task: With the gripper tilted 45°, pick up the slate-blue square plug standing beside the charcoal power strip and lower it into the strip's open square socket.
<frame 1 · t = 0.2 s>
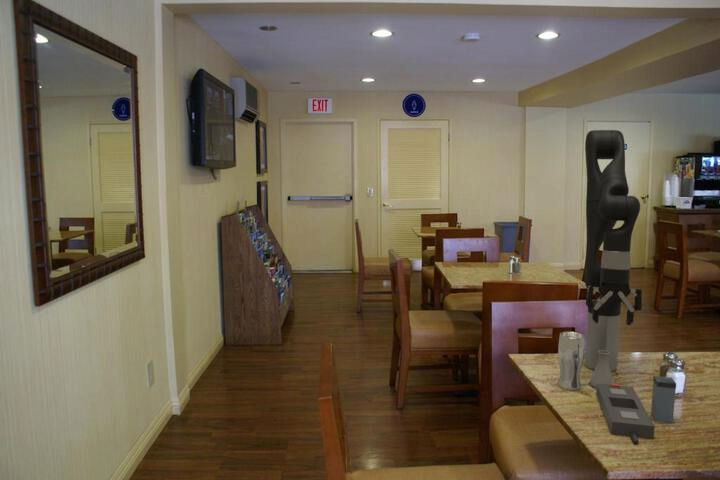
hand: (612, 323, 161), 18 cm above the table, tool pointing down, fingers open, 8 cm apart
power strip: (622, 414, 143), on the table
beer glass: (569, 386, 162), on the table
plug: (661, 418, 141), on the table
flask: (601, 386, 162), on the table
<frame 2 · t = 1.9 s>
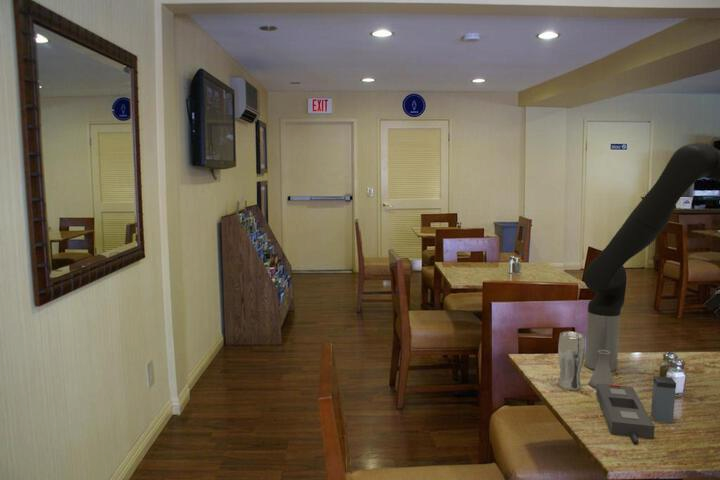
hand: (711, 311, 137), 27 cm above the table, tool tilted 45°, fingers open, 8 cm apart
nothing on the table moved.
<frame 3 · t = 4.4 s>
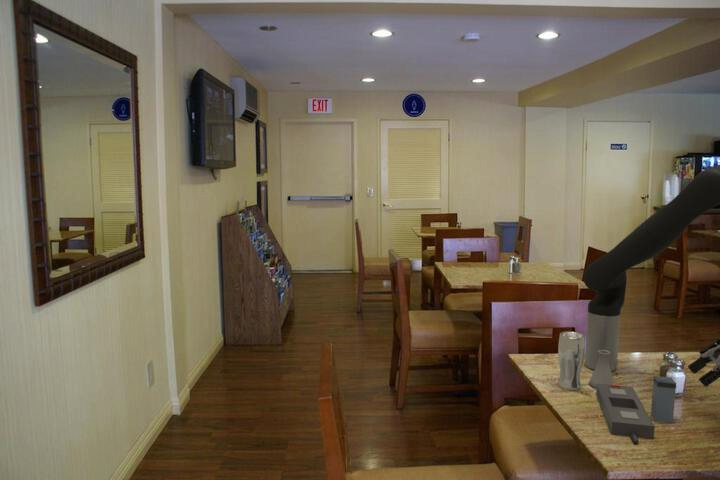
hand: (696, 376, 138), 11 cm above the table, tool tilted 45°, fingers open, 8 cm apart
nothing on the table moved.
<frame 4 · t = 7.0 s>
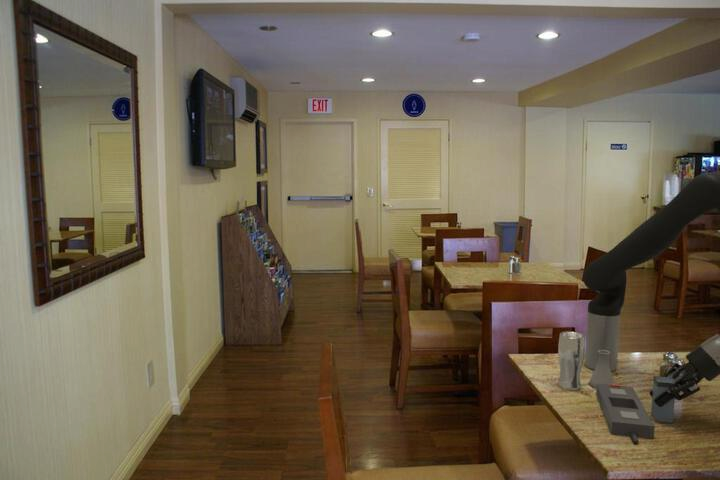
hand: (654, 400, 141), 5 cm above the table, tool tilted 45°, fingers closed on plug, 4 cm apart
plug: (661, 418, 141), on the table, touching gripper
everything else where it was.
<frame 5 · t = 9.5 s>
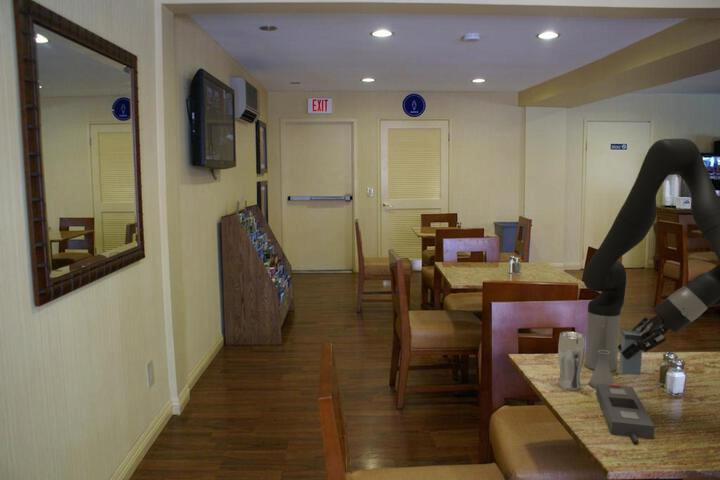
hand: (622, 353, 142), 16 cm above the table, tool tilted 45°, fingers closed on plug, 4 cm apart
plug: (629, 371, 142), point 11 cm above the table, touching gripper
everything else where it was.
when the fingers open (6 cm above the table, at t = 12.3 s): plug drops 2 cm, resting in power strip.
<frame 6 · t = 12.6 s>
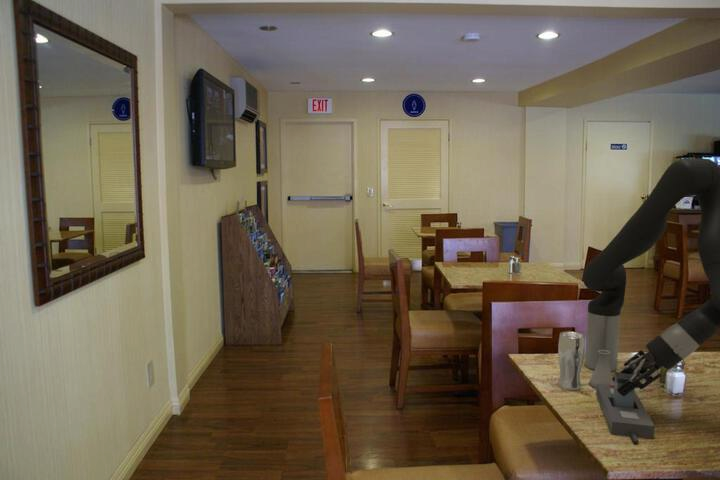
hand: (617, 387, 143), 7 cm above the table, tool tilted 45°, fingers open, 6 cm apart
plug: (622, 414, 144), resting in power strip
everything else where it was.
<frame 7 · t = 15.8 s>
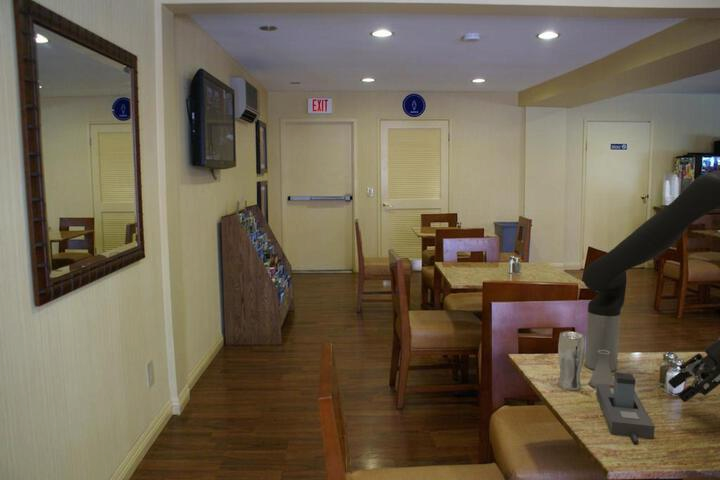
hand: (675, 391, 140), 7 cm above the table, tool tilted 45°, fingers open, 8 cm apart
nothing on the table moved.
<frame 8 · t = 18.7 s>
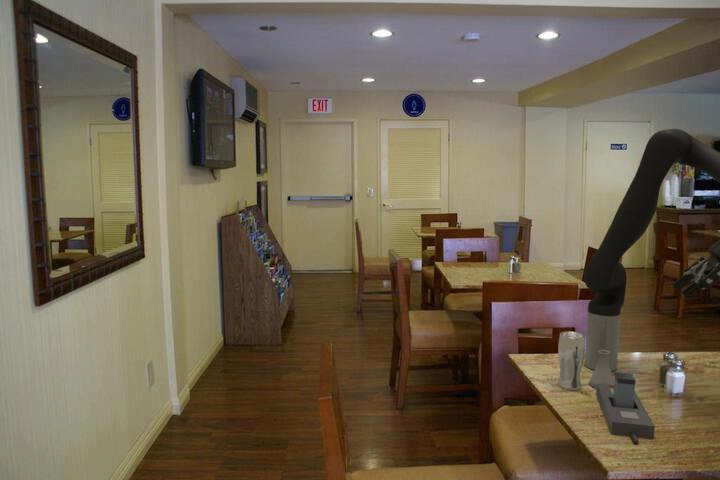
hand: (679, 291, 143), 31 cm above the table, tool tilted 45°, fingers open, 8 cm apart
nothing on the table moved.
at the end: plug 0.1 cm off-centre on the power strip, point 0.0 cm above the power strip's base; plug tilted 0°; the gripper is holding nothing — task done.
